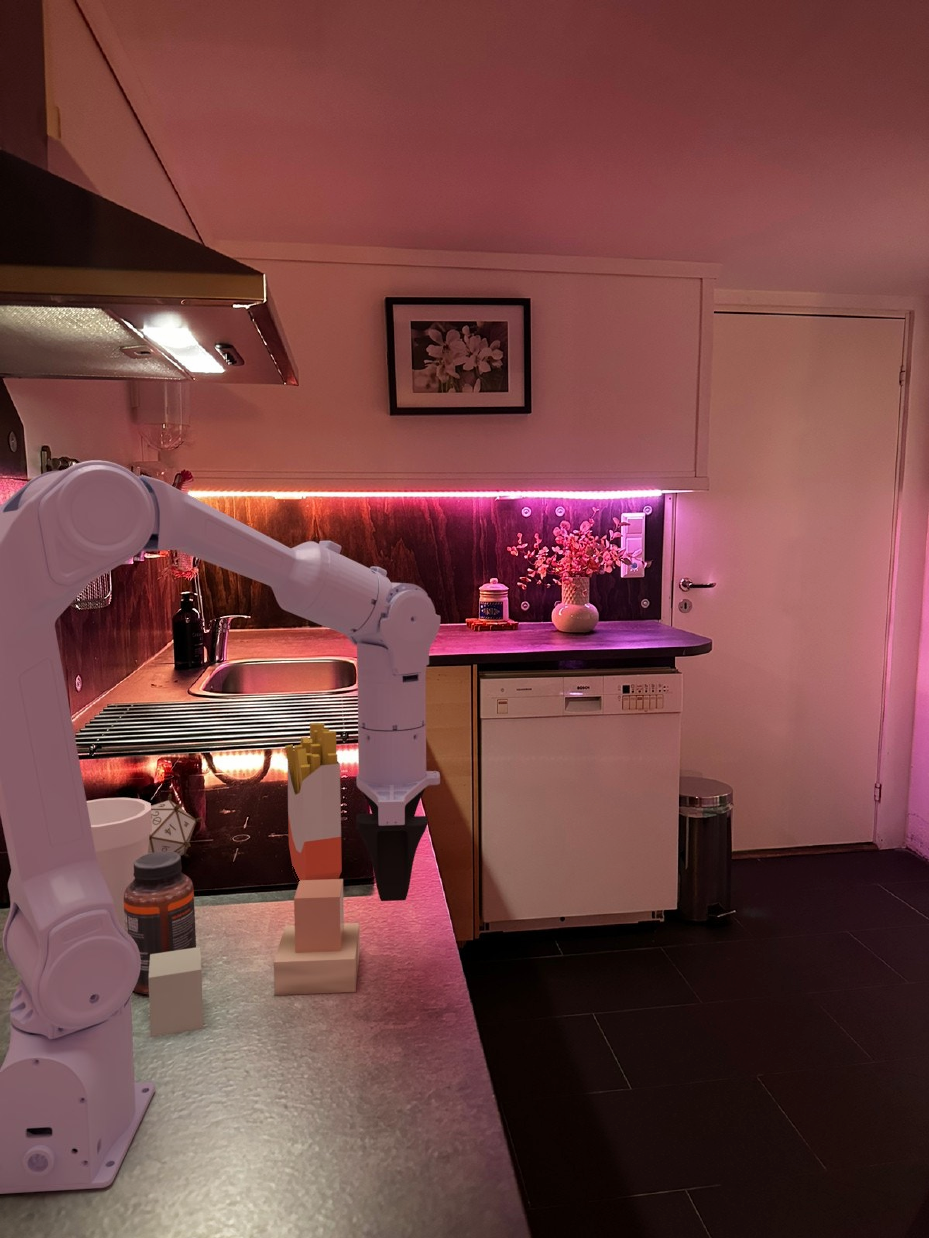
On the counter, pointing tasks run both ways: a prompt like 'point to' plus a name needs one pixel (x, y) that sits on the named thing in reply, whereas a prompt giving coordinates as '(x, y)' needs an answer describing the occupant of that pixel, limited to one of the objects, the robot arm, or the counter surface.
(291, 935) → the birch slab
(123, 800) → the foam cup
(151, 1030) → the beige block
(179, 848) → the game die
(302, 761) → the french fries container
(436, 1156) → the counter surface
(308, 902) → the terracotta block
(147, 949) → the supplement bottle
